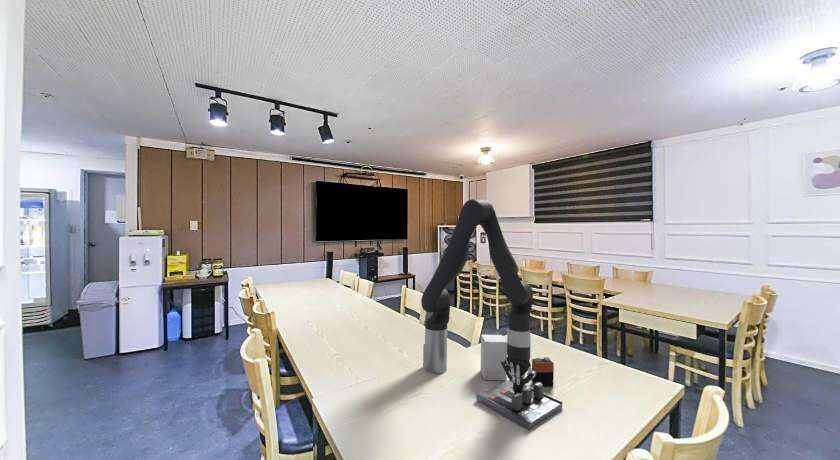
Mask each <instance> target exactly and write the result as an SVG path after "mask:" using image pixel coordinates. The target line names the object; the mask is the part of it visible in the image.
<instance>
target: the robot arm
mask: <svg viewBox="0 0 840 460" xmlns="http://www.w3.org/2000/svg"><path fill="white" fill-rule="evenodd" d="M478 225H480V227H481V228H482V229H483V232H484V234H485V235H486V238H487V244H488V249H489V256H490V260H491V262H492V264H493V266H494V268H495V270H496V273H498V274H497V275H498V276H499V280H500V284H501V286H502V290H503V293H504V296H505V298H506V299H507V300H508V302H509V303H510V304H511V309H510V311H509V312H508V317H507V322H508V323H507V333H506V334H507V335H506V342H507V359H506V360H504V361H501V364H502V366H503V368H504V370H505V372H506V374H507V378H508V380H509V379H511V380H512V382H513V392H514V394H515V393H519V394H520V395H521V394H522V389H523V385H528V384H529V383H530V382H532V379H533V378H534V377H535V376H536V375H537V372H536V371H533V370H532V363H531V349H532V348H531V346H532V345H531V344H532V343H531V342H532V341H531V339H532V338H531V313H532V307H533V301H534V291H533V288H532V286H531V285H530V284H529V283H528V282H527V281H521V278H520V276H519V270H520V269H519V265H518V264H517V262H516V260H515V257H513V255H512V252H511V251H510V248H509V246H508V244H507V242H506V240H505V237H504V235H503V231H502V229H501V226H500V224H499V221H498V217H497V214H496V211H495V207H494V206H493V204H492V203H491V202H490V201H489V200H487V199H483V198H482V199H481V198H472V199H471V198H470V199H469V200H466V201H465V203H464V204H463V205H462V207H461V209H460V212H459V215H458V219H457V221H456V225H455V227H454V230H453V232H452V235H451V237H450V238H449V241H448V244H447V246H446V248H445V249H444V252H443V254H442V256H441V259H440V261H439V263H438V265H437V268H436V270H435V272H434V273H433V276H432V277H431V280H430V281H429V282H428V284H427V286H426V288H425V290H424V291H423V292H422V295H421V299H420V301H421V302H420V303H421V307H422V310H423V311H425V312H426V313H432V314H431V315H430V316H429V317H428V318H427V319H426V320H425V323H424V343H423V345H422V346H423V349H422V350H423V351H422V352H423V353H422V355H423V356H422V367H423V368H424V370H425V371H426V372H428V373H430V374H443V373H445V372H446V371H447V368H448V367H447V365H448V364H447V363H448V362H447V361H448V357H447V356H448V324H449V322H450V314H451V297H450V294H449V291H448V290H447V289H445V288H447V286H448V285H449V284H451V282H453V281H454V280H455V279H457V277H458V276H459V275H460V274H461V272H462V271H463V269H464V267H465V265H466V263H467V261H468V259H469V256H470V241H471V237H472V235H473V233H474V231H475V230H476V228H477V227H478ZM526 375H527V376H526Z"/></svg>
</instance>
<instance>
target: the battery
mask: <svg viewBox="0 0 840 460" xmlns="http://www.w3.org/2000/svg"><path fill="white" fill-rule="evenodd" d="M554 366H555V364H554V361H552V360H551V358H550V357H548V356H545V357H543V358H540V357H536V358H532V359H531V369H532V370H533V371H536V372H537V375H536V376H535V377H534V378H533V379H532V380H531V382H532V384H533V385H534V384H535V383H537V382H540V383H541V384H543V388H552V387H554V375H555V374H554V372H555V370H554V369H555V368H554Z"/></svg>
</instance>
